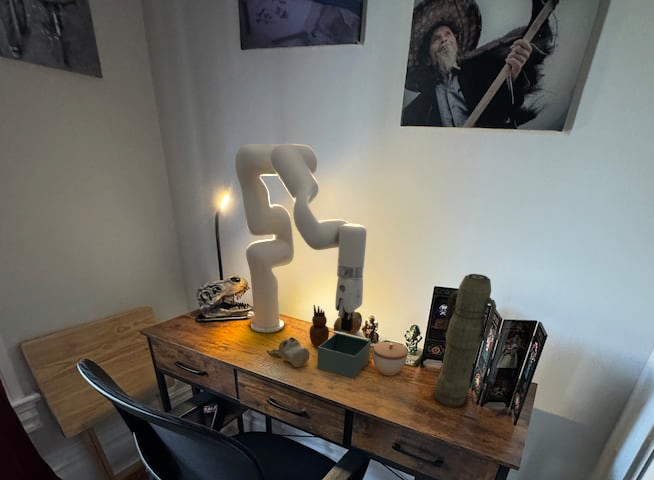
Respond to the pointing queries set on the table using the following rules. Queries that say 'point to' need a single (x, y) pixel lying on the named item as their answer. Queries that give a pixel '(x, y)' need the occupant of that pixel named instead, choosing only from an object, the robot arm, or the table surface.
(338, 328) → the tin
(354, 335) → the flap
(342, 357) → the carton
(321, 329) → the wooden figurine
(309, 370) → the table surface
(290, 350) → the ceramic sculpture
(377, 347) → the trinket box
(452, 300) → the thermos
